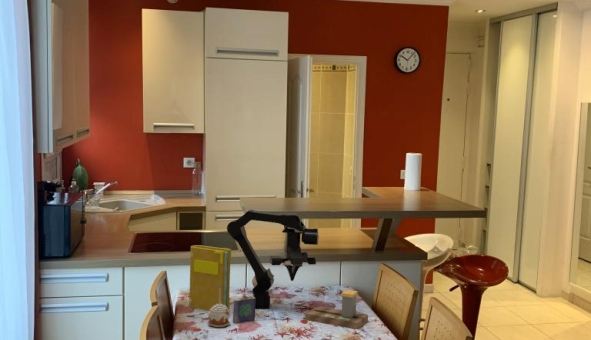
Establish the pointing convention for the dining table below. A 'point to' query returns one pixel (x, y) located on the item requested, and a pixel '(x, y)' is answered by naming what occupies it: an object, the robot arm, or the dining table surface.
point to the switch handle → (349, 303)
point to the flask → (244, 309)
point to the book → (209, 277)
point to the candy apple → (219, 314)
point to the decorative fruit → (254, 281)
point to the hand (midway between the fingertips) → (292, 280)
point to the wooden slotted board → (335, 317)
